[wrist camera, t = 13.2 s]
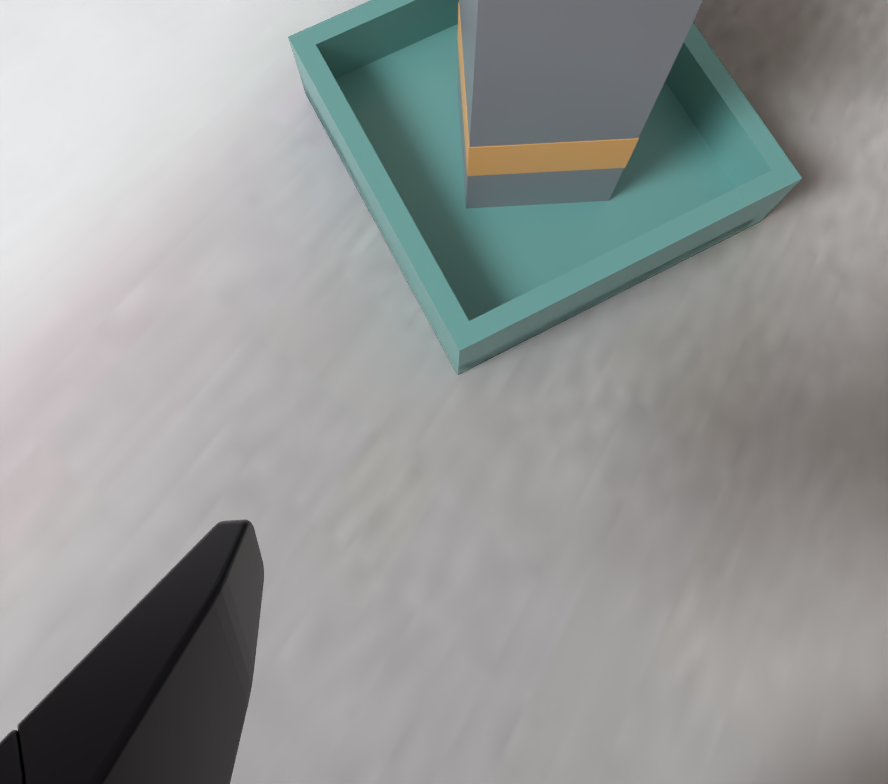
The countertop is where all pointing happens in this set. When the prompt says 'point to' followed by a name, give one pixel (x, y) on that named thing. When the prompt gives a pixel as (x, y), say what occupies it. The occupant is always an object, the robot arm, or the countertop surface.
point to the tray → (528, 226)
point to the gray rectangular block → (559, 93)
